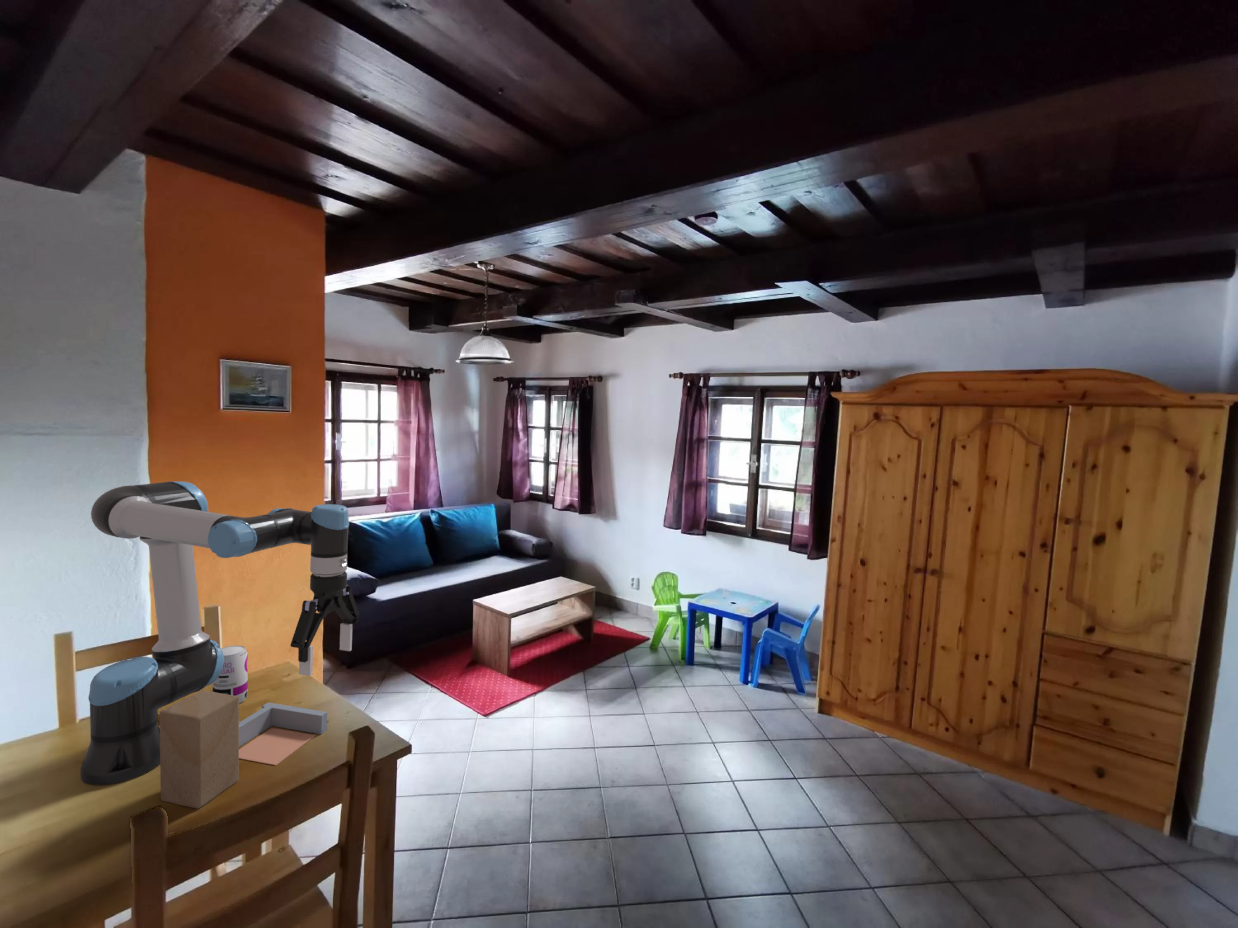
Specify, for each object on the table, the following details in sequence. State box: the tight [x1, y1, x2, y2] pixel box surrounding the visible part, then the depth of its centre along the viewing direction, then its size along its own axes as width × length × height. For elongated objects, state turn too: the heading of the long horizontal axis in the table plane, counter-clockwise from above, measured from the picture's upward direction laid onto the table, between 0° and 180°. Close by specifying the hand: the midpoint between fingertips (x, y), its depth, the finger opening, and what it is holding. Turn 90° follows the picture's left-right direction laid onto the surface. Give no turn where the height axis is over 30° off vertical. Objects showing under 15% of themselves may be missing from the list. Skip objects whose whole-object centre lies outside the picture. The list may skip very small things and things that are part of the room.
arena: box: [239, 701, 328, 766], centre depth 141 cm, size 18×18×5 cm
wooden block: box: [159, 689, 240, 809], centre depth 122 cm, size 10×10×20 cm
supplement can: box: [212, 645, 249, 705], centre depth 159 cm, size 8×8×15 cm
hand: (326, 661), depth 130 cm, fingers open, 13 cm apart
